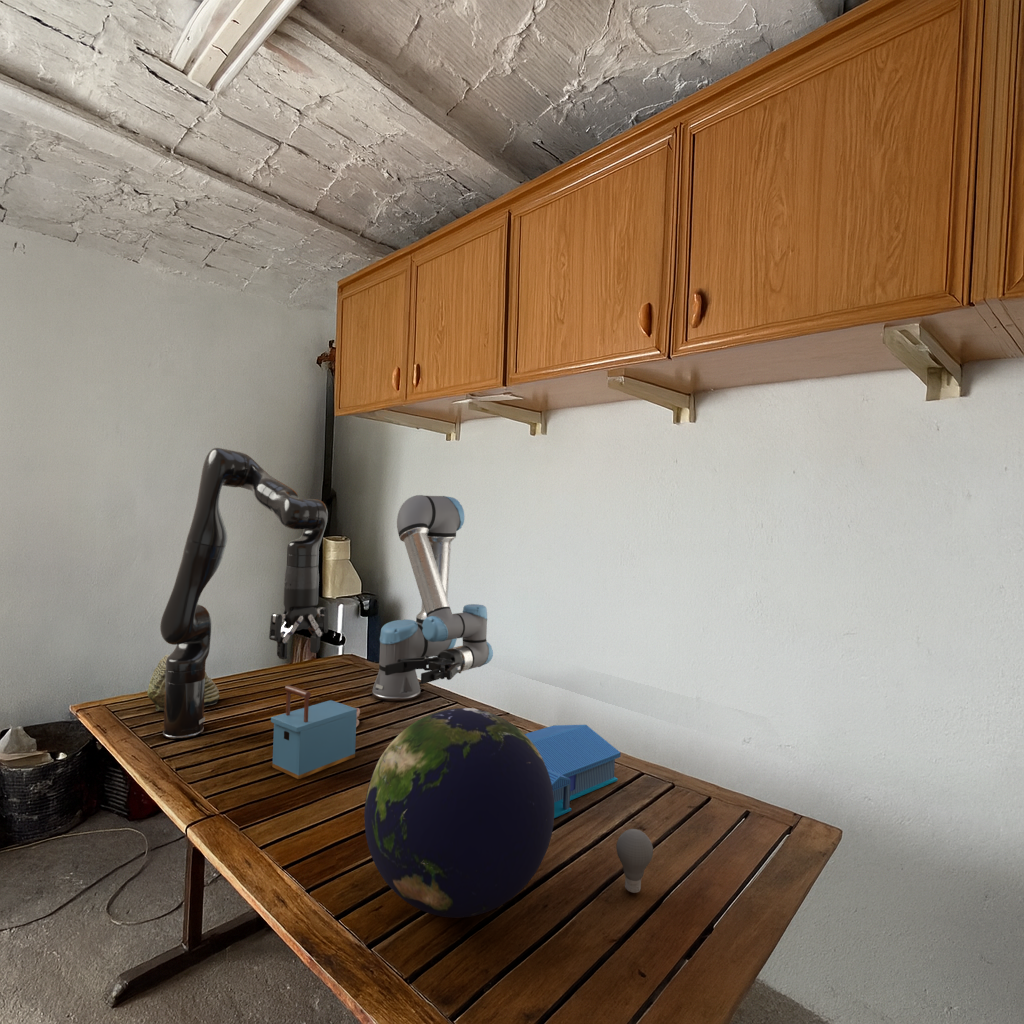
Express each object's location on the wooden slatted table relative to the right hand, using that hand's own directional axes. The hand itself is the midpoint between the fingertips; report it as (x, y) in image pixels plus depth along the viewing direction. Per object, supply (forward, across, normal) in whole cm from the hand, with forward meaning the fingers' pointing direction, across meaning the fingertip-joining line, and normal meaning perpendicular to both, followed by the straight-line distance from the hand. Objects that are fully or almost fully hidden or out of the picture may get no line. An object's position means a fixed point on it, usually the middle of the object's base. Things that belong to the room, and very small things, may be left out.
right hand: (403, 674), depth 173 cm
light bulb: (+26, -80, -18) cm, 86 cm away
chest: (+28, +1, -16) cm, 32 cm away
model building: (+6, -46, -17) cm, 50 cm away
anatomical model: (+10, +17, -15) cm, 25 cm away
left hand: (+34, 0, +11) cm, 35 cm away
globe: (+46, -59, -17) cm, 77 cm away
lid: (+28, +1, -5) cm, 29 cm away
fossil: (+28, +61, -14) cm, 69 cm away
